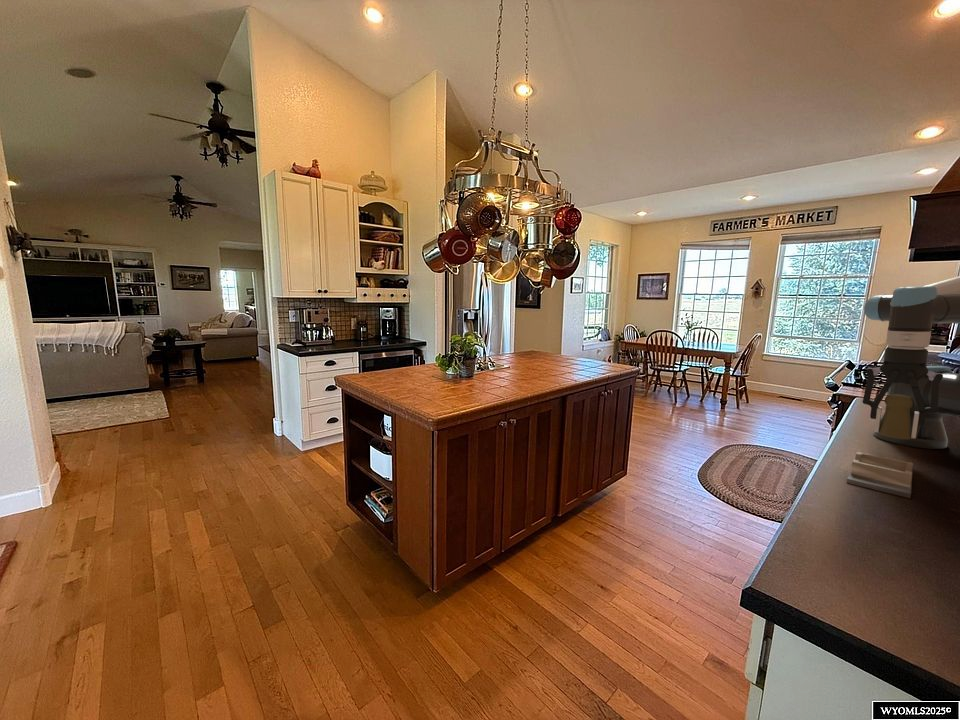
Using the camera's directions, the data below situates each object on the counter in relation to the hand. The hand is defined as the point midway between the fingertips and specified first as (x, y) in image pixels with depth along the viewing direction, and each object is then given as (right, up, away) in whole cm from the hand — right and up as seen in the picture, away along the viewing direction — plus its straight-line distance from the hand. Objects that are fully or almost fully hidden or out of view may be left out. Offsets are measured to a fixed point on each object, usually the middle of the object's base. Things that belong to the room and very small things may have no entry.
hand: (894, 433), depth 103 cm
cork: (0, -1, 0) cm, 1 cm away
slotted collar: (-14, -9, -10) cm, 20 cm away
